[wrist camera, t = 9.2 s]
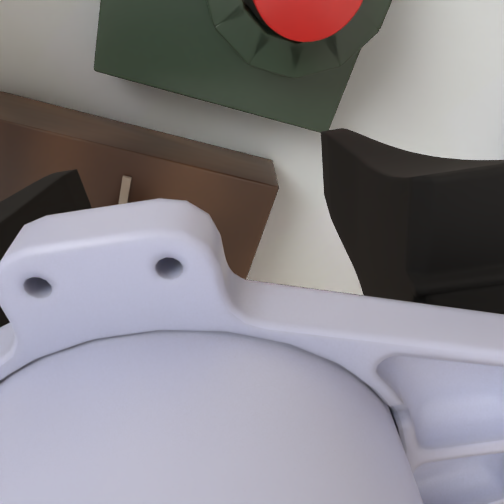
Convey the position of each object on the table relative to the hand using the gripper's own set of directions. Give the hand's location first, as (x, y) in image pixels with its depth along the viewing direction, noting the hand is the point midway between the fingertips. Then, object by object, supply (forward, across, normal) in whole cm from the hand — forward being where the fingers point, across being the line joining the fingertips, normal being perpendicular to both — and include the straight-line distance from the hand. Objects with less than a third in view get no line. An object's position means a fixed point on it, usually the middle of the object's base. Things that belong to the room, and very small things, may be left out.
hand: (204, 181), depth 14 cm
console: (+9, +5, +5) cm, 12 cm away
